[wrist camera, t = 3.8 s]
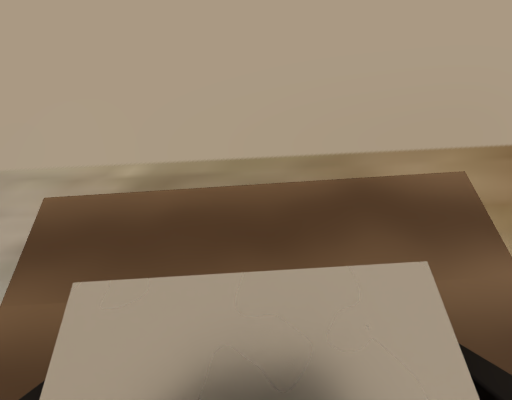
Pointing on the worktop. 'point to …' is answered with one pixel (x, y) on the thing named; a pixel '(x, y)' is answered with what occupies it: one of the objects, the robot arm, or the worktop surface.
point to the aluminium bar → (261, 338)
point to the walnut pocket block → (259, 251)
